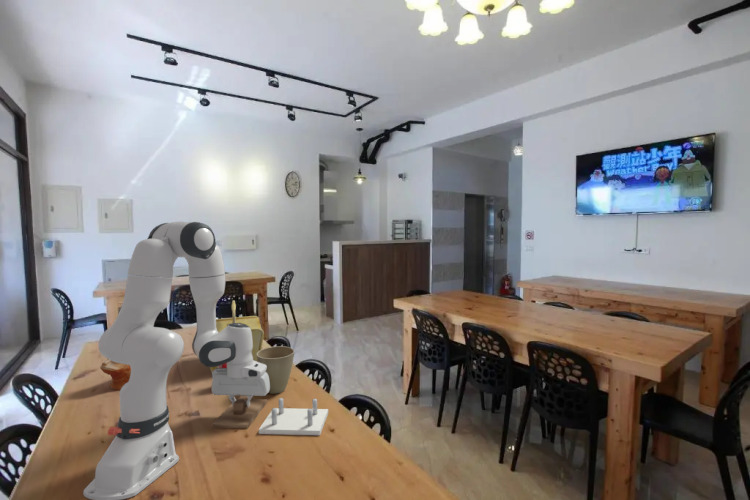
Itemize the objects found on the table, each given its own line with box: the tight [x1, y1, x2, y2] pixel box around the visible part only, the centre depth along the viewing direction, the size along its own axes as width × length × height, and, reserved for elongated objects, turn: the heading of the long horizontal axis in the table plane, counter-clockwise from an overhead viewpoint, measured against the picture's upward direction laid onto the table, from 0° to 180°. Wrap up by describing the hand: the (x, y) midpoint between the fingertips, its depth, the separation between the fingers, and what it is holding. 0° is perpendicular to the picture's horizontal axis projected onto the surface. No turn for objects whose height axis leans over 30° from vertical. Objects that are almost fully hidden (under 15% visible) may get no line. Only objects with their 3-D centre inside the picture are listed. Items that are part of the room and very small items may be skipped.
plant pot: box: [257, 345, 295, 395], centre depth 148 cm, size 15×15×16 cm
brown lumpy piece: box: [100, 358, 131, 391], centre depth 158 cm, size 14×26×15 cm, turn 152°
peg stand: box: [258, 397, 329, 436], centre depth 122 cm, size 20×14×6 cm
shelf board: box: [211, 395, 268, 430], centre depth 129 cm, size 18×12×6 cm, turn 176°
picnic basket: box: [209, 299, 265, 373], centre depth 177 cm, size 29×26×30 cm
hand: (241, 406), depth 129 cm, fingers closed on shelf board, 3 cm apart
